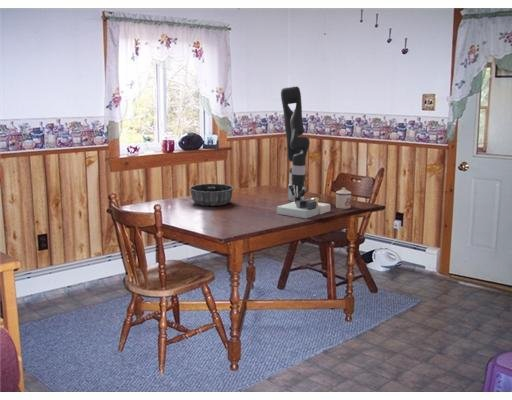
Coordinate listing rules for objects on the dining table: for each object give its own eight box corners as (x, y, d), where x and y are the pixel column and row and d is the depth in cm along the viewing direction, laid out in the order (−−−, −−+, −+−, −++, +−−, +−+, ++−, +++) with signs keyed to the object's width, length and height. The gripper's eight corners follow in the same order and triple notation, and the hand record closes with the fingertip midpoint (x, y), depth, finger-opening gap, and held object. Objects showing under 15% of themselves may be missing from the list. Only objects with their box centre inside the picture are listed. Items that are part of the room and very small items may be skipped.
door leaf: (276, 213, 345) (276, 206, 344) (289, 209, 355) (289, 203, 355) (306, 218, 334) (306, 211, 333) (318, 214, 345) (318, 207, 344)
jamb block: (290, 209, 356) (290, 202, 355) (300, 206, 365) (300, 199, 364) (320, 214, 345) (320, 207, 344) (330, 210, 354) (330, 204, 353)
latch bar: (315, 203, 351) (315, 197, 350) (319, 204, 348) (320, 198, 347) (295, 206, 342) (295, 199, 342) (300, 207, 339) (300, 201, 339)
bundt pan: (214, 210, 354) (213, 193, 352) (180, 204, 369) (180, 187, 367) (242, 203, 374) (242, 186, 372) (209, 197, 390) (209, 182, 388)
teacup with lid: (347, 209, 358) (348, 189, 355) (333, 207, 362) (333, 188, 360) (354, 206, 368) (355, 186, 366) (340, 204, 372) (341, 185, 370)
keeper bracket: (307, 209, 338) (307, 202, 337) (312, 207, 342) (313, 200, 342) (310, 210, 336) (310, 202, 336) (316, 208, 341) (316, 201, 340)
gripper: (285, 171, 344) (284, 202, 348) (301, 175, 334) (300, 206, 338) (295, 170, 349) (294, 200, 352) (311, 174, 339) (310, 205, 342)
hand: (297, 203), depth 345 cm, fingers closed
